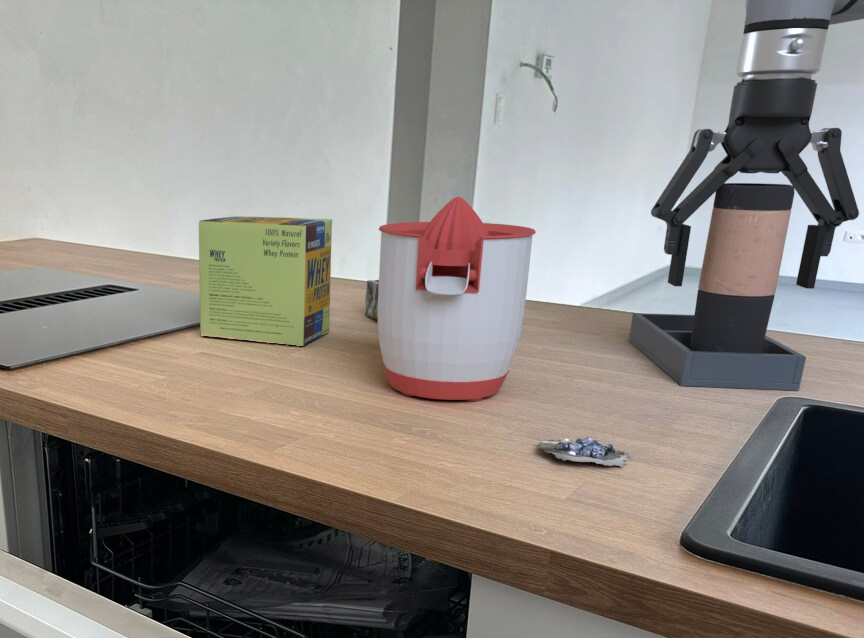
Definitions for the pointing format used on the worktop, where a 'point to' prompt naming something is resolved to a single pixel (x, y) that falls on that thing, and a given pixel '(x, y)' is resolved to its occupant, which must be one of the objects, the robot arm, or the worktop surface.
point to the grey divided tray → (713, 357)
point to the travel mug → (741, 267)
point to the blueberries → (585, 451)
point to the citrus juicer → (451, 303)
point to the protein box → (265, 278)
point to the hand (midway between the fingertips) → (738, 285)
